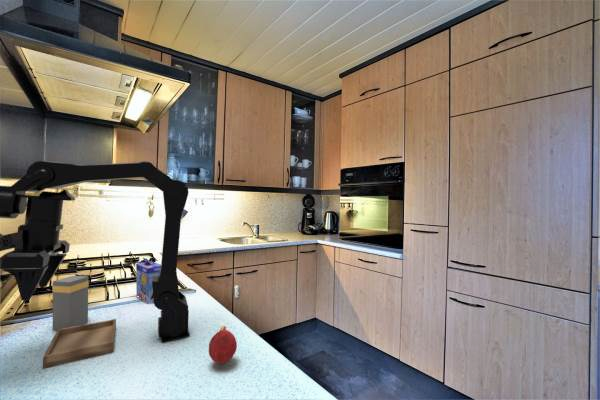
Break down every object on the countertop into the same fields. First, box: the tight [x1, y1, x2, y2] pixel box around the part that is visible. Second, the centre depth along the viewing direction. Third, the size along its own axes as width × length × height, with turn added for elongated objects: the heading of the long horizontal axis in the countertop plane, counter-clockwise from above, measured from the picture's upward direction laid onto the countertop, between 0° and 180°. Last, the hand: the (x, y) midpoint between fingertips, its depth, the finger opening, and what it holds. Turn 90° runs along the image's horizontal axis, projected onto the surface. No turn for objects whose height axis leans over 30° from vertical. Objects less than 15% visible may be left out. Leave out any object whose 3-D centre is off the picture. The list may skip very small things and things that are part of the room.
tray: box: [42, 318, 117, 369], centre depth 66 cm, size 12×14×2 cm
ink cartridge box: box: [135, 257, 161, 305], centre depth 97 cm, size 10×6×14 cm, turn 51°
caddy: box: [51, 275, 90, 332], centre depth 76 cm, size 5×6×13 cm
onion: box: [208, 325, 238, 366], centre depth 59 cm, size 6×6×8 cm
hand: (34, 293), depth 59 cm, fingers open, 9 cm apart
